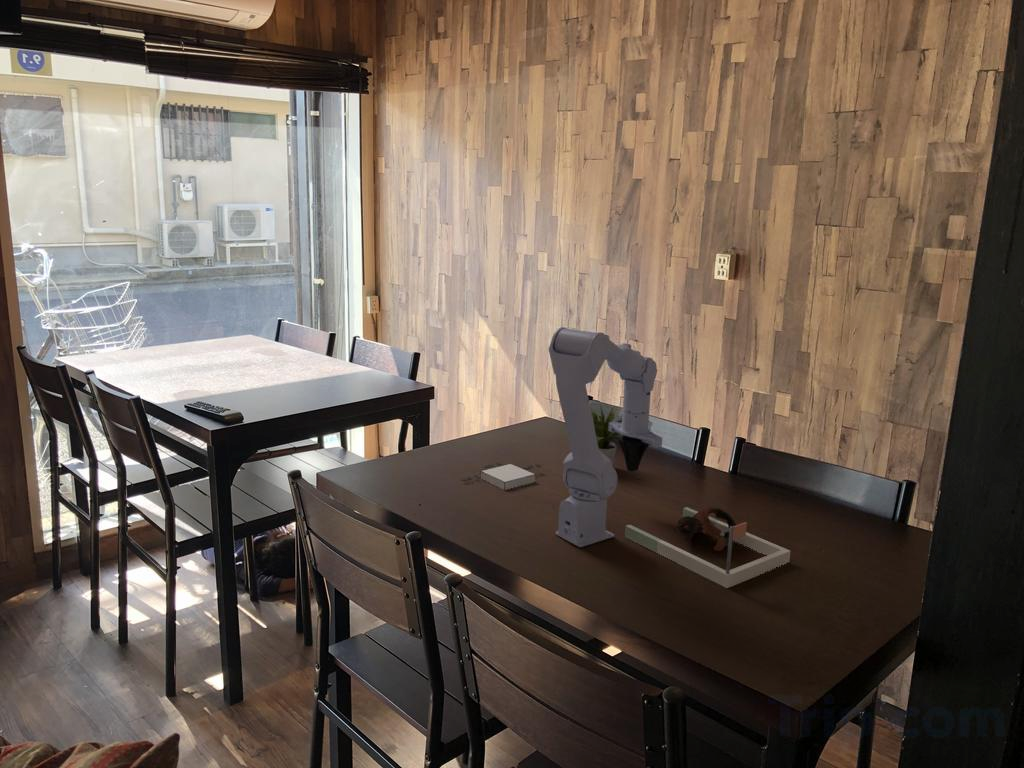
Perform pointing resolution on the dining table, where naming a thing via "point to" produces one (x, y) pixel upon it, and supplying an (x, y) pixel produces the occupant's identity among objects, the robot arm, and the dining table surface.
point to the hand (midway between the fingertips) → (632, 470)
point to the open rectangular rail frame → (727, 577)
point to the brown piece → (706, 526)
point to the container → (506, 476)
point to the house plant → (605, 433)
